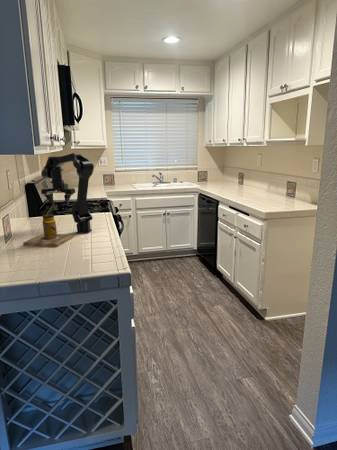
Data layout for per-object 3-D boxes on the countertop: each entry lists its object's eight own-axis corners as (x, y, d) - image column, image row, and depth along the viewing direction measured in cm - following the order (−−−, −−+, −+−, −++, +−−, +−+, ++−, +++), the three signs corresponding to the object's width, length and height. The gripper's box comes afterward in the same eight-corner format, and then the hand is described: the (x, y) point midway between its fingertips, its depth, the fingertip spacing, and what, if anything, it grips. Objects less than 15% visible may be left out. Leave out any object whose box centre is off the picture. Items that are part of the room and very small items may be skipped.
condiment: (59, 238, 156) (57, 215, 153) (42, 241, 151) (39, 217, 148) (55, 235, 162) (52, 212, 159) (38, 238, 157) (35, 215, 154)
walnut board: (73, 237, 163) (73, 234, 162) (57, 246, 147) (56, 243, 147) (42, 236, 166) (42, 233, 166) (23, 245, 151) (23, 242, 151)
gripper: (78, 177, 183) (81, 203, 187) (49, 177, 186) (52, 203, 190) (69, 179, 172) (72, 207, 176) (38, 179, 176) (42, 206, 180)
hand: (59, 205), depth 181 cm, fingers open, 9 cm apart
